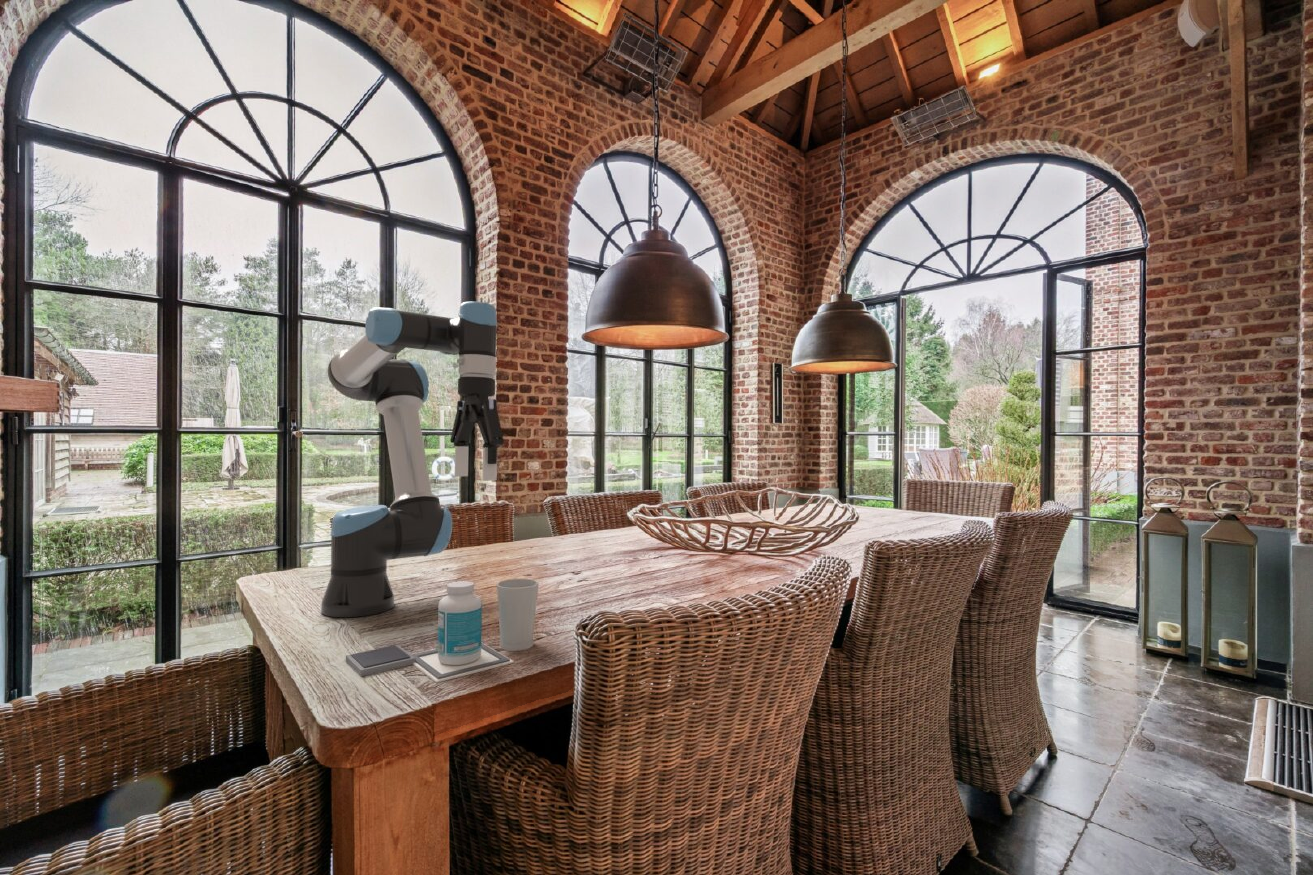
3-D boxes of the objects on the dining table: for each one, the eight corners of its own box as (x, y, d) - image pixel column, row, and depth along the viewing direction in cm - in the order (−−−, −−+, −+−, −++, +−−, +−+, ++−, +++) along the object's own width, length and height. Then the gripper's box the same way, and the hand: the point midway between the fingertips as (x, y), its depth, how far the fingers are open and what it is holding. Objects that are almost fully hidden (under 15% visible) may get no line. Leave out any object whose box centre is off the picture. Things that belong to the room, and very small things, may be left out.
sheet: (405, 658, 109) (405, 655, 109) (478, 642, 118) (478, 639, 118) (436, 682, 98) (436, 679, 98) (513, 662, 108) (513, 659, 108)
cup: (499, 638, 121) (500, 578, 121) (539, 638, 121) (540, 578, 121) (491, 652, 113) (493, 588, 113) (535, 651, 113) (536, 588, 113)
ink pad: (345, 660, 107) (345, 654, 107) (397, 649, 113) (397, 643, 113) (360, 676, 100) (361, 669, 100) (415, 663, 106) (415, 656, 106)
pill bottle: (489, 655, 110) (490, 581, 110) (464, 669, 103) (465, 590, 103) (455, 649, 113) (456, 577, 113) (428, 663, 106) (429, 586, 106)
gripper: (436, 379, 134) (434, 475, 134) (487, 371, 115) (484, 482, 115) (468, 381, 138) (466, 474, 138) (522, 374, 120) (520, 481, 120)
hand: (474, 478), depth 127 cm, fingers open, 13 cm apart
